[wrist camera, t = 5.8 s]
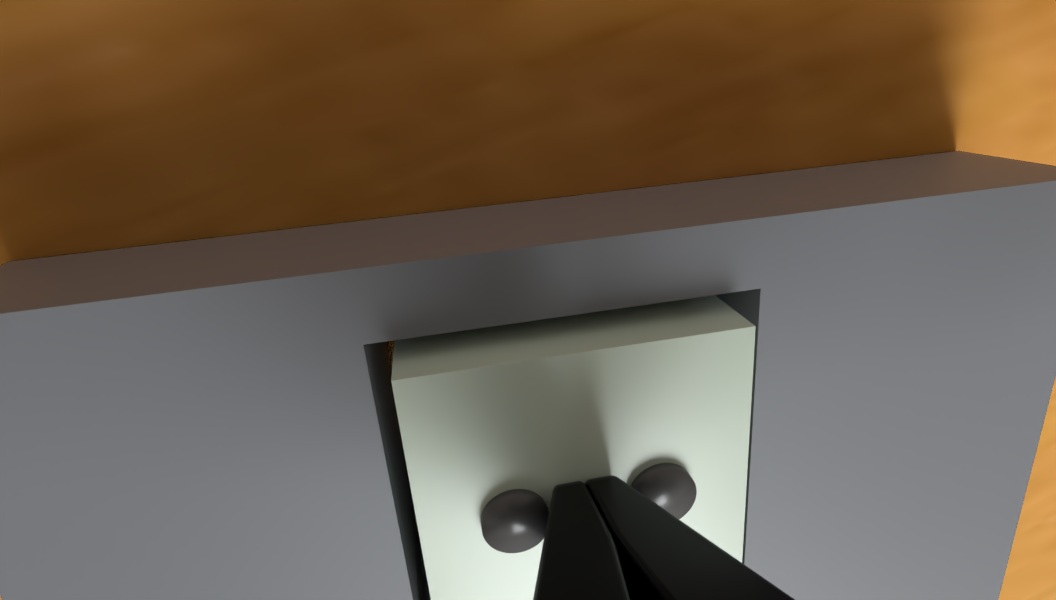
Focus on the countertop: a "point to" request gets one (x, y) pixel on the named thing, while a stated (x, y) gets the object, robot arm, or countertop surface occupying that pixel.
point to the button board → (520, 296)
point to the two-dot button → (570, 430)
